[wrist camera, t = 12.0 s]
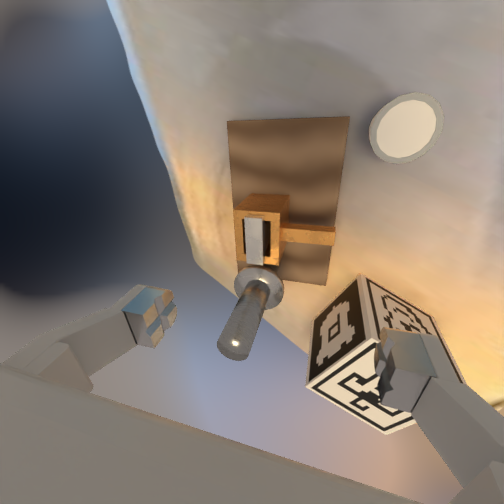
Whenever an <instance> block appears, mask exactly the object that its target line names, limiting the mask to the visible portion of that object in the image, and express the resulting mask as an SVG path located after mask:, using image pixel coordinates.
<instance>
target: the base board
mask: <svg viewBox="0 0 504 504" xmlns="http://www.w3.org/2000/svg"><path fill="white" fill-rule="evenodd" d="M349 119H350V117H324V118H297V119H271V120H245V121H227V129H228V143H229V156H230V170H231V183H232V197H233V210H234V209H235V208H236V207H237V206H238V205H239V204H240V203H241V202H242V201H243V200H244V199H245V198H246V197H247V196H249V195H250V194H251V193H256V194H278V195H290V201H289V223H291V224H304V225H317V226H331V227H334V225H335V218H336V211H337V204H338V197H339V190H340V183H341V175H342V168H343V161H344V154H345V147H346V140H347V133H348V126H349ZM330 253H331V246H329V245H319V244H308V243H298V242H287V244H286V246H285V249H284V252H283V255H282V257H281V260H280V267H279V270H278V273H277V274H278V275H279V277H280V278H281V280H288V281H295V282H302V283H309V284H317V285H324V286H326V281H327V274H328V267H329V260H330ZM237 264H238V273H239V272H240V271H241V270H242V269H243V268H245V267H247V266H251V265H256V264H248V263H247V261H240V260H237Z"/></svg>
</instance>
